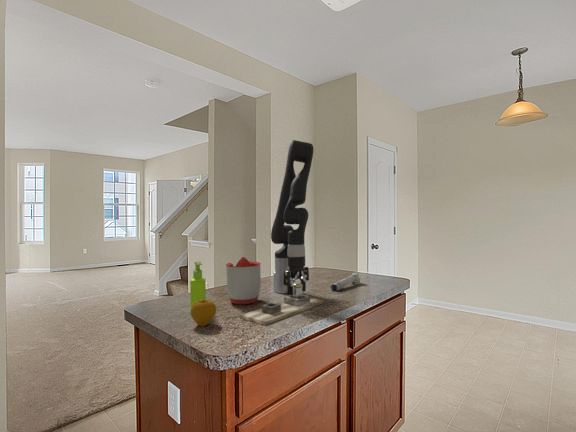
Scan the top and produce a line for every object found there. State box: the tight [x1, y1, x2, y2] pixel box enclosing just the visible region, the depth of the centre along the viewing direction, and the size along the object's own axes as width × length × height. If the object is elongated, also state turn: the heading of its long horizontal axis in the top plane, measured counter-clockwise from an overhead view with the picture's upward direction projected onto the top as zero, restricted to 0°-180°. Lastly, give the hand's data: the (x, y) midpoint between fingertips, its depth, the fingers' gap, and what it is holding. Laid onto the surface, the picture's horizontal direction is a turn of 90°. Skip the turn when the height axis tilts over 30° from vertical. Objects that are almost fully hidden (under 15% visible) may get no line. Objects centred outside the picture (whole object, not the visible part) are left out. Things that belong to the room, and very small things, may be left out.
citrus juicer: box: [225, 256, 262, 306], centre depth 146 cm, size 16×17×20 cm
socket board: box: [240, 294, 324, 326], centre depth 131 cm, size 13×36×4 cm, turn 140°
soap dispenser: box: [189, 261, 207, 309], centre depth 130 cm, size 6×7×20 cm
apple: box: [190, 299, 217, 327], centre depth 114 cm, size 9×9×9 cm
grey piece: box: [330, 272, 361, 292], centre depth 171 cm, size 5×7×25 cm
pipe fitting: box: [292, 282, 303, 299], centre depth 137 cm, size 4×4×8 cm
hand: (296, 293), depth 137 cm, fingers open, 8 cm apart
